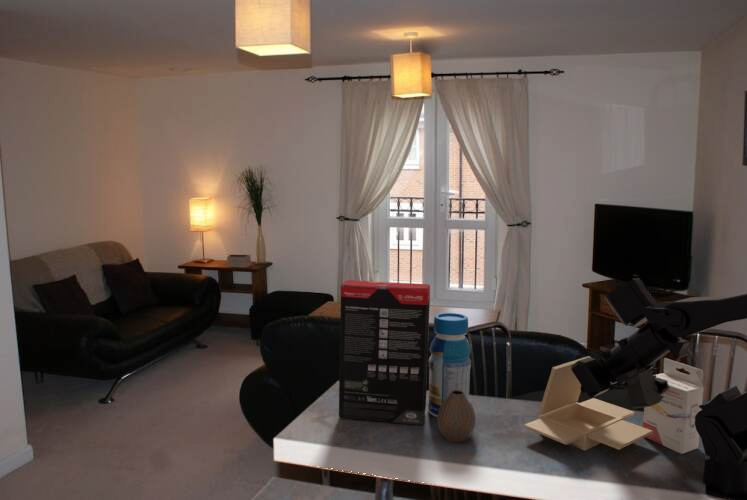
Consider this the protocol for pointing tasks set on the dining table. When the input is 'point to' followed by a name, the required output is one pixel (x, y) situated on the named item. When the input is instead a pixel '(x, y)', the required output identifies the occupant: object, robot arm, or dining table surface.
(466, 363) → the beverage bottle
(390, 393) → the graphics card box
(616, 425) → the carton
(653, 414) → the ink cartridge box
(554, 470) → the dining table surface
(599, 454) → the dining table surface
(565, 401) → the flap
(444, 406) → the vase
